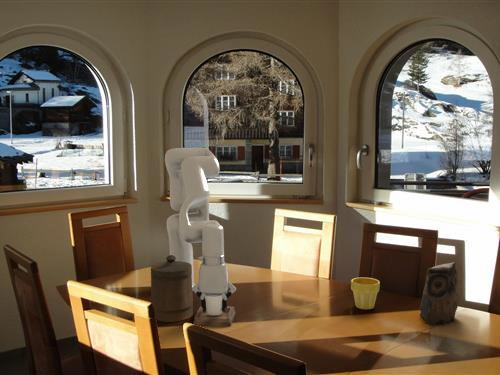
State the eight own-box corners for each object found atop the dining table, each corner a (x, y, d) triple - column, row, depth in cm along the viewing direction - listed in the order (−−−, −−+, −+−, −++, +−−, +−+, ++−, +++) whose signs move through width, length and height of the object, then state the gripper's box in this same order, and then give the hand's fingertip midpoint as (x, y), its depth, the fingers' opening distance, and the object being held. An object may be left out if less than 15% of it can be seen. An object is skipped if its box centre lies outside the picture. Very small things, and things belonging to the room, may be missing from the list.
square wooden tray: (193, 325, 190) (193, 318, 190) (199, 312, 203) (199, 305, 203) (231, 325, 189) (230, 318, 189) (235, 312, 202) (235, 306, 202)
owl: (457, 316, 195) (459, 260, 193) (459, 329, 183) (461, 269, 181) (419, 313, 199) (421, 258, 197) (419, 325, 187) (420, 267, 185)
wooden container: (199, 310, 206) (198, 252, 203) (182, 324, 192) (180, 261, 189) (163, 306, 210) (161, 249, 208) (144, 320, 197) (141, 259, 194)
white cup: (221, 316, 192) (221, 296, 191) (202, 315, 193) (201, 295, 193) (226, 309, 199) (226, 290, 198) (207, 308, 200) (207, 289, 199)
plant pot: (382, 304, 209) (382, 278, 208) (376, 312, 200) (376, 286, 199) (354, 300, 214) (355, 275, 213) (347, 309, 204) (347, 283, 203)
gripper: (186, 262, 191) (188, 313, 193) (236, 262, 189) (237, 313, 192) (190, 257, 198) (192, 306, 201) (239, 257, 197) (240, 306, 199)
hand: (214, 309), depth 196 cm, fingers closed on white cup, 6 cm apart
